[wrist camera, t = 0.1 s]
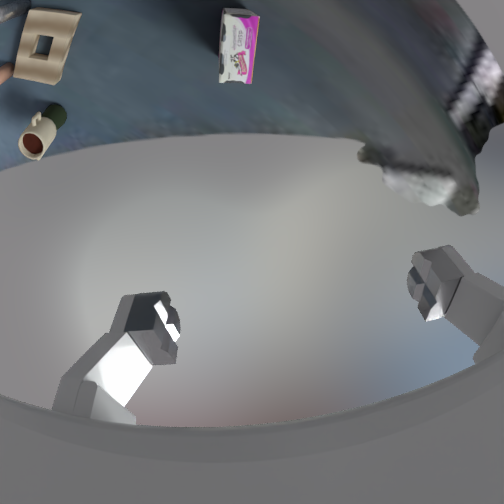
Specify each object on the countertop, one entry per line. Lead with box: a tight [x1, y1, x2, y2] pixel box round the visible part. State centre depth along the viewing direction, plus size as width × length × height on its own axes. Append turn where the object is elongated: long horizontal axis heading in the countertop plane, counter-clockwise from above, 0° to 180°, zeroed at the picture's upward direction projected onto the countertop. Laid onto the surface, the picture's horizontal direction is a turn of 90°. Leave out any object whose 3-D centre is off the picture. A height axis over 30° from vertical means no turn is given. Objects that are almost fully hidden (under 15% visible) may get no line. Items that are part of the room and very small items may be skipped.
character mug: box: [18, 104, 67, 160], centre depth 42 cm, size 11×7×13 cm, turn 160°
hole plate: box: [13, 7, 82, 85], centre depth 30 cm, size 16×12×3 cm
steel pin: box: [0, 0, 31, 24], centre depth 17 cm, size 4×4×14 cm
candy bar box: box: [219, 8, 260, 84], centre depth 35 cm, size 11×5×16 cm, turn 174°
